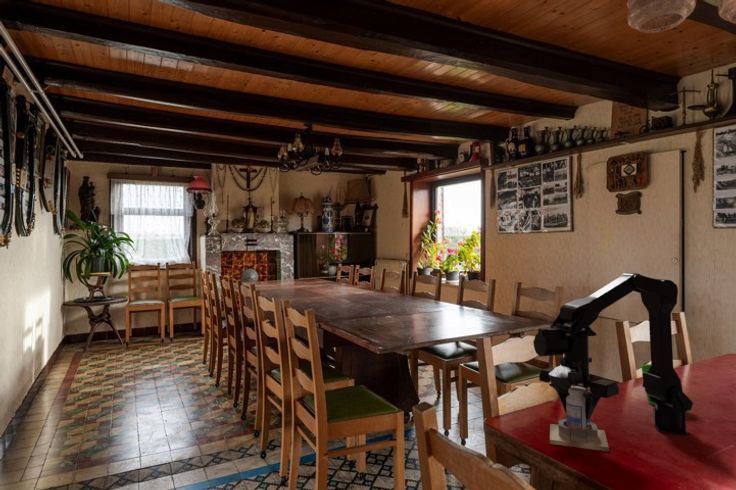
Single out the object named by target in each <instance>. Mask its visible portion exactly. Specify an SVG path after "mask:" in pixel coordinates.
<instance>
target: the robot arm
mask: <svg viewBox="0 0 736 490" xmlns="http://www.w3.org/2000/svg"><path fill="white" fill-rule="evenodd" d="M632 292H636V293H638V294H640V298H641V302H642V304H643V306H644V307H645V308H646V310H647V312H648V323H649V326H648V327H649V328H648V329H649V344H650V345H649V346H650V364H651V367H650V369H649V370H648V372H643V373H642V385H641V386H642V387H643V388H644V392H645V393H647V394H648V396H649V399H650V401H651V402H655V405H654V408H653V409H652V419H653V422H652V423H653V425H654V426H655V428H656V429H657V431H658V432H660V433H661V432H663V433H667V434H669V433H670V434H678V435H685V436H686V435H688V434H689V432H688V431H687V429H686V428H687V427H686V426H687V425H686V423H687V421H686V413H687V411H688V412H689V411H692V408H693V404H694V403H693V401H692V399H691V398H689V397H688V396H687V394H686V393H685V392H684V389H683V386H682V380H681V378H680V377H679V375H678V373H677V371H676V370H675V368H674V356H673V335H672V332H673V331H672V311H673V310H674V309H675V307H676V305H677V304H678V294H679V289H678V285H677V284H676V283H675V282H674V281H673V280H670V279H660V278H653V277H649V276H645V275H642V274H640V273H635V272H623V273H622V274H621V275H619V277H618V278H616V279H614V280H612V281H611V282H609V283H608V284H606V285H604V286H602V287H601V288H599V289H598V290H596V291H595V292H593V293H592V294H590V295H588V296H586V297H583V298H579V299H574V300H572V301H569V302H567V303H564V304H563V305H561V306H560V308H559V313H558V315H557V316H556V317H555V319H554V321H553V323H552V324H551V326H550V328H545V327H540V328H538V329H537V333H536V334H535V336H534V339H533V343H532V344H533V349H534V351H535V353H536V354H537V356H539V357H552V356H562V357H560V360H559V361H560V362H559V365H558V366H556V367H553V366H551V367H548V368H544V369H541V370H540V371H539V373H538V381H540V382H543V383H548V385H549V387H551V388H553V389H554V390H555V391H556V393H557V394H558V397H559V399H560V401H561V405H562V407H563V410H564V412H565V413H566V397H567V396H568V395H570V394H569V388H571V386H578V387H583V388H585V389H587V391H586V393H583V396H584V397H585V399H586V419H590V420H591V417H592V415H593V413H594V412H595V410H596V407H597V405H598V403H599V402H600V400H601V398H604V399H608V398H611V397H614V396H617V395H619V394H620V386H619V385H618V383H617V382H615V381H612V380H607V379H603V378H601V379H598V380H594V381H593V380H591V379H593V373H590V363H592V362H593V358H592V357H590V355H589V353H590V351H589V337H596V336H598V335H597V333H596V332H595V331H594V330H593V329H592V328H591V327H590V326H591V325H592V324H594V322H596V321H597V320H598V318H599V315H600V313H601V312H603V310H606V309H607V308H608V307H610V306H611V305H613V304H615V303H616V302H618V301H620V300H621V299H623V298H625V297H626V296H628V295H630V294H631V293H632ZM647 394H646V395H647Z"/></svg>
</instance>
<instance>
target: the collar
mask: <svg viewBox="0 0 736 490" xmlns="http://www.w3.org/2000/svg"><path fill="white" fill-rule="evenodd" d="M549 444H550V445H556V446H557V445H558V446H564V447H573V448H578V449H587V450H593V451H594V450H595V451H600V450H601V452H608V451H609V452H610V447H609V443H608V440H607V436H606V432H605V430H604V429H598V427H597V424H595V423H594V422H591V421H590V428H589V429H588V430H577V429H571V428H569V427H568V426H567V418H563V419H559V420H558V424H553V423H550V426H549Z"/></svg>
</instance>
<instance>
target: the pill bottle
mask: <svg viewBox="0 0 736 490" xmlns="http://www.w3.org/2000/svg"><path fill="white" fill-rule="evenodd" d="M586 389H587V388H586V387H582V386H578V385H577V386H575V385H572V386H571V388H569V394H570V395H568V396H567V397H566V412H565V413H566V419H567V426H568V427H569V428H571V429H577V430H588V429H589V428H590V422H591V418H590V419H586V399H585V397H584V396H583V393H586V392H587V391H586Z"/></svg>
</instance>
